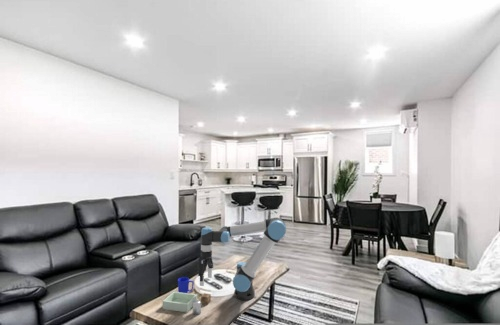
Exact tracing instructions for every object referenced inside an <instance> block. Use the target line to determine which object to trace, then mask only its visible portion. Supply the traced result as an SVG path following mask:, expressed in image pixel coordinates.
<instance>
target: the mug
mask: <svg viewBox="0 0 500 325" xmlns="http://www.w3.org/2000/svg"><path fill="white" fill-rule="evenodd" d="M190 283H192V284H191V289H189V287H190ZM177 288H178V290H177V292H181V293H188V292H192V291H193V289H194V280H190V278H189V277H186V276H182V277H179V278H178V279H177Z"/></svg>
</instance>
